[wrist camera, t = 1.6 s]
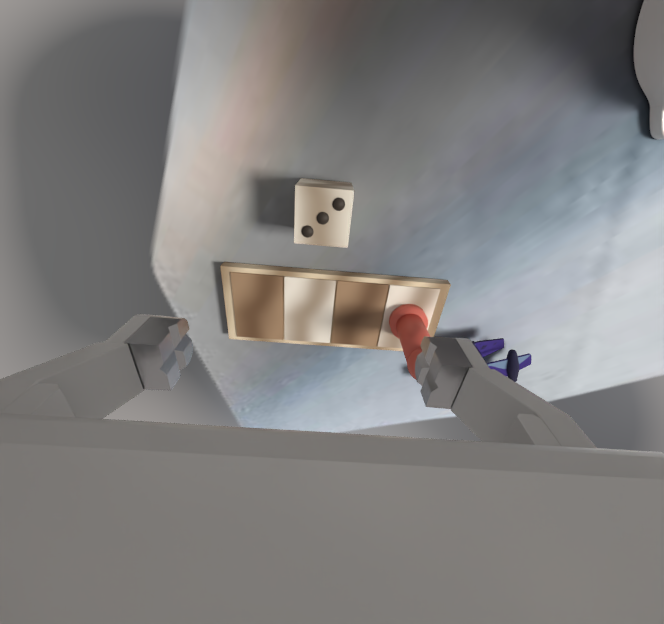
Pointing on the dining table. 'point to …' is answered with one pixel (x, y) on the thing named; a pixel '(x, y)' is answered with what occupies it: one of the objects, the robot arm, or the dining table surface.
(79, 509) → the robot arm
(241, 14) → the dining table surface
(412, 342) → the pawn
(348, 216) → the die
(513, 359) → the toy airplane
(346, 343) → the track board
